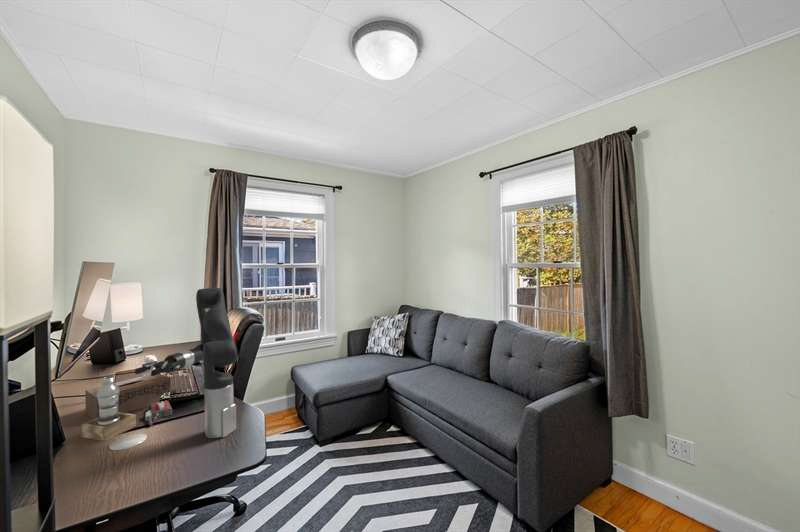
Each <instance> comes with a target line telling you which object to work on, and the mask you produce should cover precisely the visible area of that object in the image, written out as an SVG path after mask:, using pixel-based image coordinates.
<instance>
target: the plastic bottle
mask: <svg viewBox="0 0 800 532" xmlns="http://www.w3.org/2000/svg"><path fill="white" fill-rule="evenodd" d="M115 378H116V376H114V375H110V376H105V377H102V378H101V388H100V389H99V390H98V393H97V398H98V403H99V421H98V426H103V427H106V426H109V425H111V424H113V423H115V422H118V421H120V416H119V411H118V399H119V392H120V389H119V387H118V386H117V385H116V384H115V383H116V379H115Z"/></svg>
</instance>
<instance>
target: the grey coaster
mask: <svg viewBox="0 0 800 532" xmlns="http://www.w3.org/2000/svg"><path fill="white" fill-rule="evenodd" d="M147 437H148V435H147V434H144V433H133V434H129V435H125V436H122V437H120V438H118V439H116V440H114V441H113V442H111V443H110V444H109V449H110V451H124V450H128V449H132V448H133V447H136V446H138V445H141V444H142V443H144V442H145V441H146V440H147Z"/></svg>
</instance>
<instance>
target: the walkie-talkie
mask: <svg viewBox="0 0 800 532" xmlns="http://www.w3.org/2000/svg"><path fill="white" fill-rule="evenodd" d="M144 414H145V416H144V417H145V421H147V422H148V425H149V426H153V421H152V420H157V419H161V418H164V417H169V416H172V415H173V408H172V406H171V404H170V402H169V400H165V401H161V402H157V403H153V404H151V405H150V406H148V411H146V412H145V413H144Z"/></svg>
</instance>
